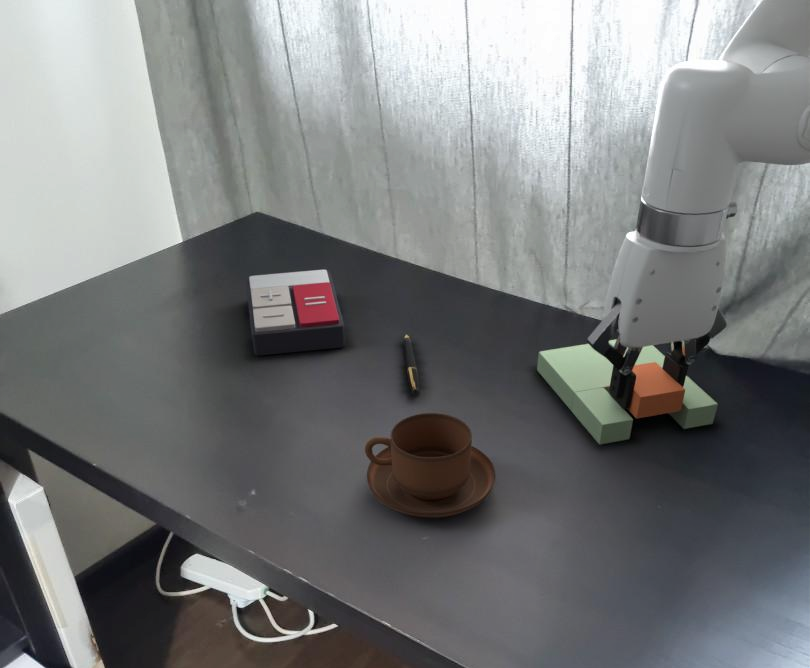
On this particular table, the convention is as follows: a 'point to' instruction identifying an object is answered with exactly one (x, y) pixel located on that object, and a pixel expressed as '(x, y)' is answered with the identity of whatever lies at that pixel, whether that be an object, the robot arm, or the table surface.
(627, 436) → the base pad
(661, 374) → the orange block
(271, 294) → the calculator
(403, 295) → the table surface
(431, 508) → the cup and saucer
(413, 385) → the fountain pen
